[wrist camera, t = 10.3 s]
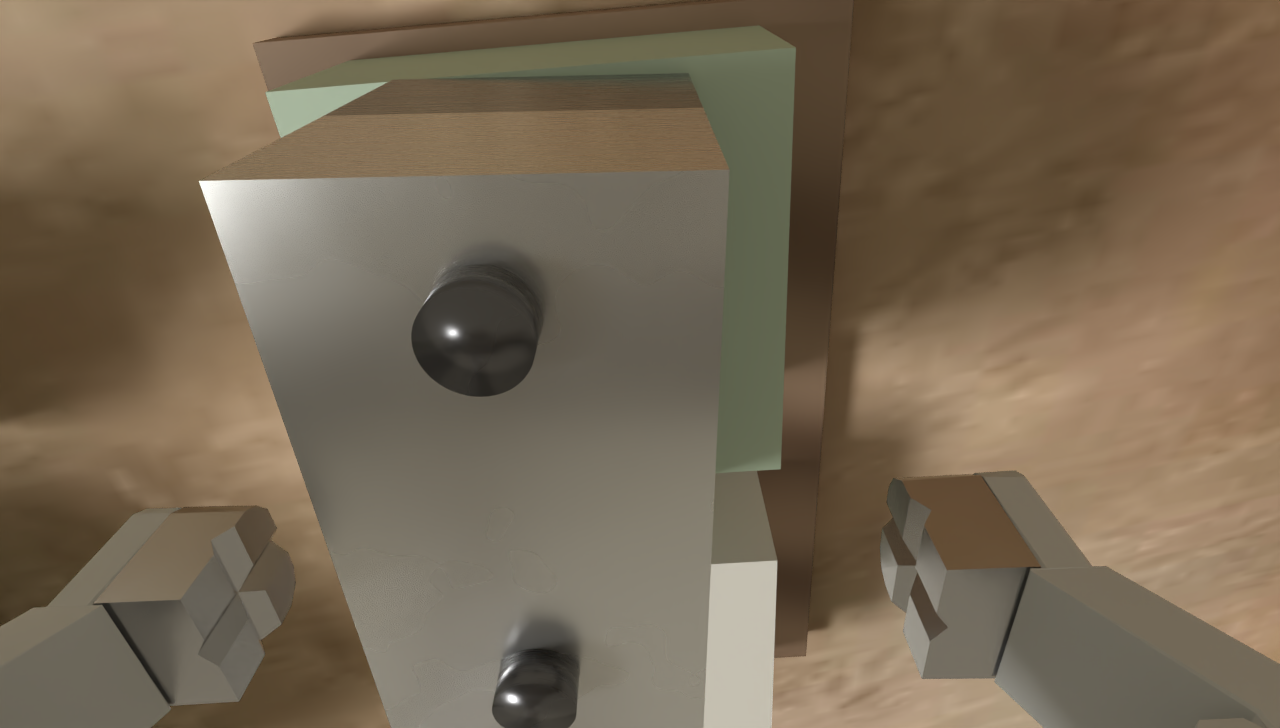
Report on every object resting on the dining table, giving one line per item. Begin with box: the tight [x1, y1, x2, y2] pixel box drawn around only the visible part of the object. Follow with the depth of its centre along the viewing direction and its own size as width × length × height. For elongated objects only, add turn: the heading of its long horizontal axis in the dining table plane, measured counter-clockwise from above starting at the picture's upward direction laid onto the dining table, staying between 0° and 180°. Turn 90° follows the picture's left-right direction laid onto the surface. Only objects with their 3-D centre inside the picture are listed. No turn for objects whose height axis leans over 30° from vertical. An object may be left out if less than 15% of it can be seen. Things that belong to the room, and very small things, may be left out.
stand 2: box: [703, 471, 777, 728], centre depth 22 cm, size 9×9×4 cm
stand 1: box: [265, 25, 796, 473], centre depth 16 cm, size 9×9×4 cm
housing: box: [199, 73, 730, 728], centre depth 11 cm, size 5×9×7 cm, turn 1°
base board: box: [253, 0, 854, 658], centre depth 21 cm, size 22×13×1 cm, turn 4°
